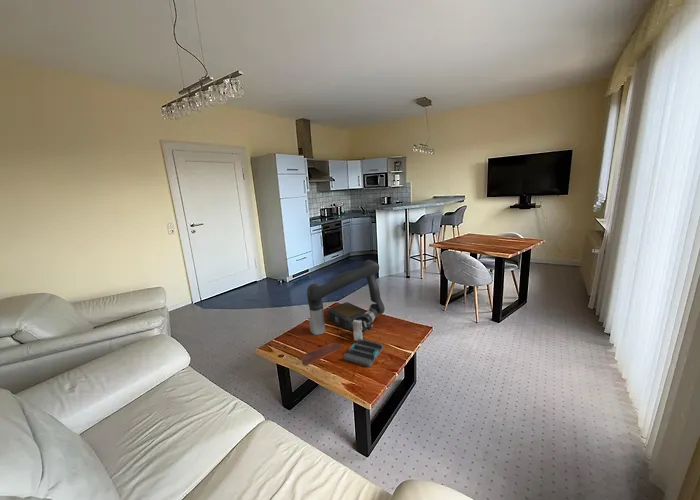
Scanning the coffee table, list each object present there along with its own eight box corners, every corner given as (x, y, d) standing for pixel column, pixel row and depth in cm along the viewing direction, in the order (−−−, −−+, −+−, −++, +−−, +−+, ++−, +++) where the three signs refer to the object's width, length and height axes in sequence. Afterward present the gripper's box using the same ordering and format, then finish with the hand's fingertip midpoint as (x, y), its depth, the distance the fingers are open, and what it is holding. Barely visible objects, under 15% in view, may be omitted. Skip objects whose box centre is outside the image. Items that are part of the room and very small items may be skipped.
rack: (344, 359, 161) (344, 354, 161) (358, 343, 177) (358, 338, 176) (370, 366, 154) (369, 361, 153) (382, 349, 169) (382, 344, 168)
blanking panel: (354, 340, 181) (352, 321, 178) (355, 338, 183) (354, 319, 180) (361, 341, 178) (360, 322, 175) (362, 339, 180) (361, 321, 178)
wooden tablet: (305, 367, 158) (305, 364, 157) (297, 359, 166) (297, 356, 165) (344, 348, 173) (344, 346, 173) (335, 342, 181) (334, 339, 181)
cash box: (326, 319, 212) (325, 309, 210) (347, 310, 224) (346, 301, 222) (347, 331, 193) (347, 320, 191) (369, 320, 205) (369, 311, 203)
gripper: (357, 311, 193) (345, 322, 180) (377, 315, 187) (366, 326, 173) (358, 321, 195) (346, 333, 181) (377, 325, 188) (366, 337, 175)
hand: (356, 330), depth 177 cm, fingers open, 8 cm apart
